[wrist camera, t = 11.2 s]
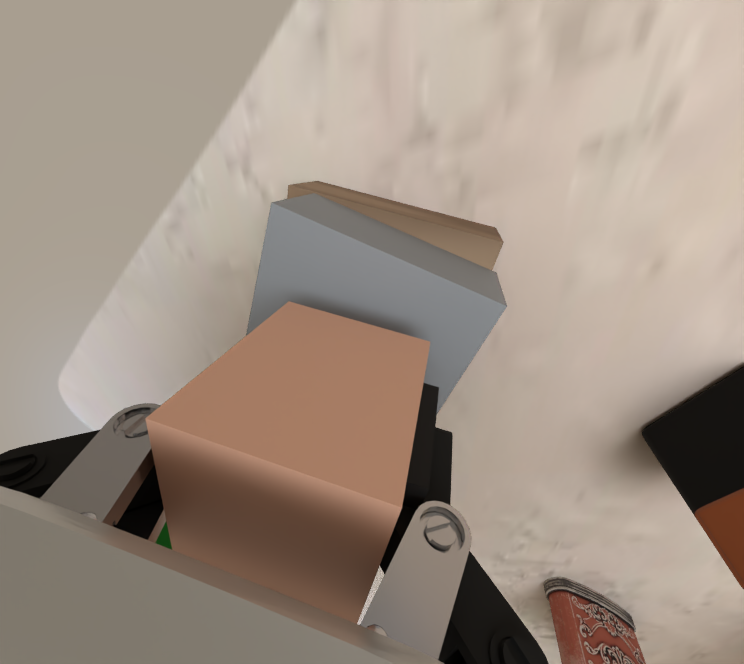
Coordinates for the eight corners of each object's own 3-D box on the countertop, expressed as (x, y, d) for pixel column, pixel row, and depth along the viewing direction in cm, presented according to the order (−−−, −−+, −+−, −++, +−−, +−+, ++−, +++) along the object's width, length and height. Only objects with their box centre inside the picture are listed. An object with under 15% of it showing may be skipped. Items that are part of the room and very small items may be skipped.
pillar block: (396, 446, 13) (354, 628, 8) (281, 408, 14) (173, 556, 9) (430, 341, 11) (402, 507, 6) (288, 301, 11) (145, 418, 6)
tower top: (415, 409, 19) (405, 462, 16) (276, 345, 20) (236, 385, 16) (496, 272, 15) (506, 306, 11) (314, 193, 15) (271, 202, 12)
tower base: (438, 373, 23) (434, 411, 19) (301, 330, 24) (274, 359, 20) (495, 226, 18) (503, 242, 14) (320, 180, 19) (288, 185, 15)
